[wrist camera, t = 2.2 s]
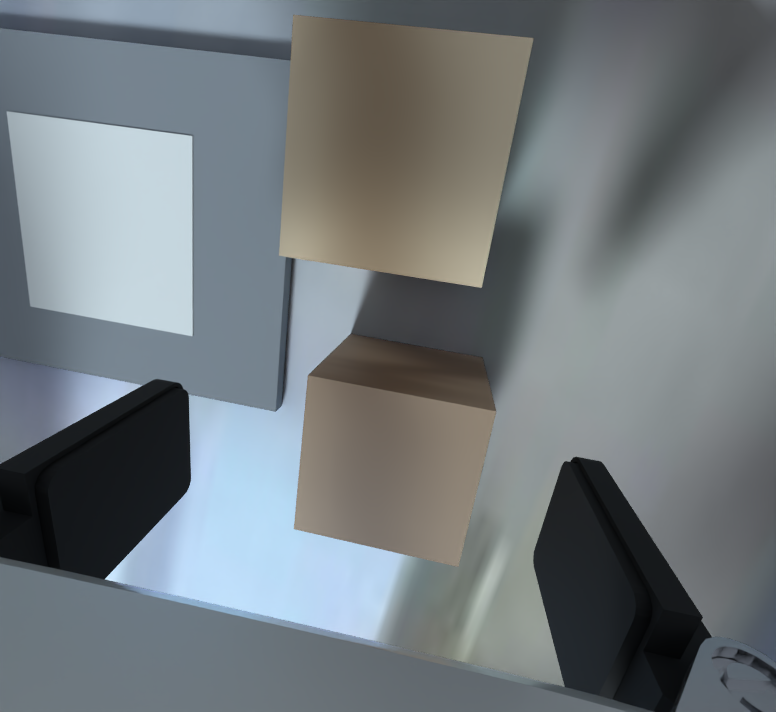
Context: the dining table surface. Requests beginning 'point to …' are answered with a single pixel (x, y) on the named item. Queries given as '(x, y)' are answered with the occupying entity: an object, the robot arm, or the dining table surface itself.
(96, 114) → the mat
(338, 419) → the walnut block
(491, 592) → the dining table surface
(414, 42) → the oak block
